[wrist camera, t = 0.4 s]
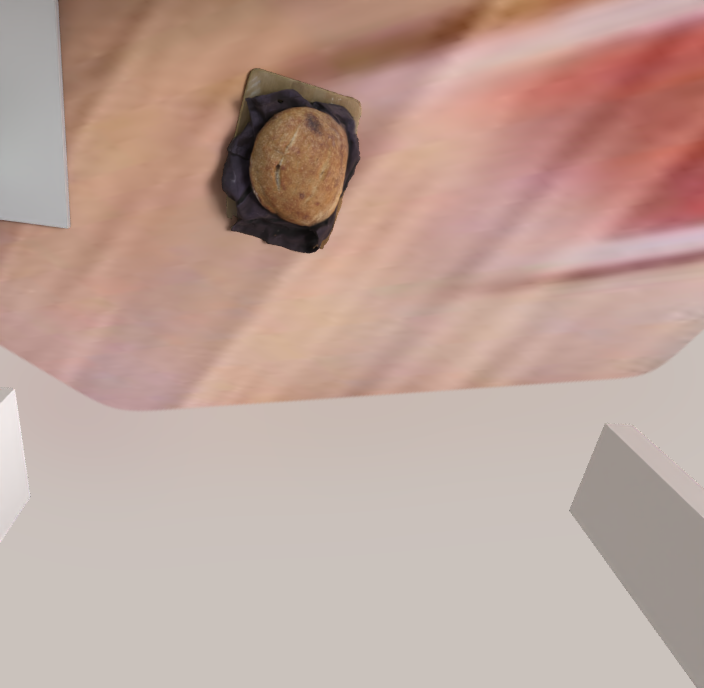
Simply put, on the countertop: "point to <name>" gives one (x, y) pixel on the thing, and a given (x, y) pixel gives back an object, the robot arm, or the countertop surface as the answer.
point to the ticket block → (32, 115)
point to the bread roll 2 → (290, 161)
